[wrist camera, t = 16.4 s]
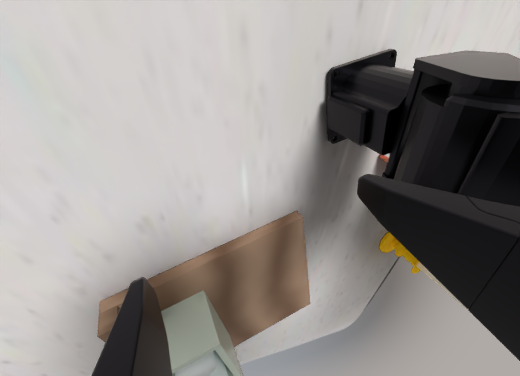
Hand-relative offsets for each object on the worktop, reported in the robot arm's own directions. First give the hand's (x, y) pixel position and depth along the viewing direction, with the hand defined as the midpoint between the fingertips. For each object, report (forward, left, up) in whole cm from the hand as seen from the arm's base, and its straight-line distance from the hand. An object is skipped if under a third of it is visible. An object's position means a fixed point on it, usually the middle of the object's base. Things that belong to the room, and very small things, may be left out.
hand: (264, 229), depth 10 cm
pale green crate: (+8, +21, -10) cm, 24 cm away
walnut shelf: (+3, +21, -11) cm, 24 cm away
